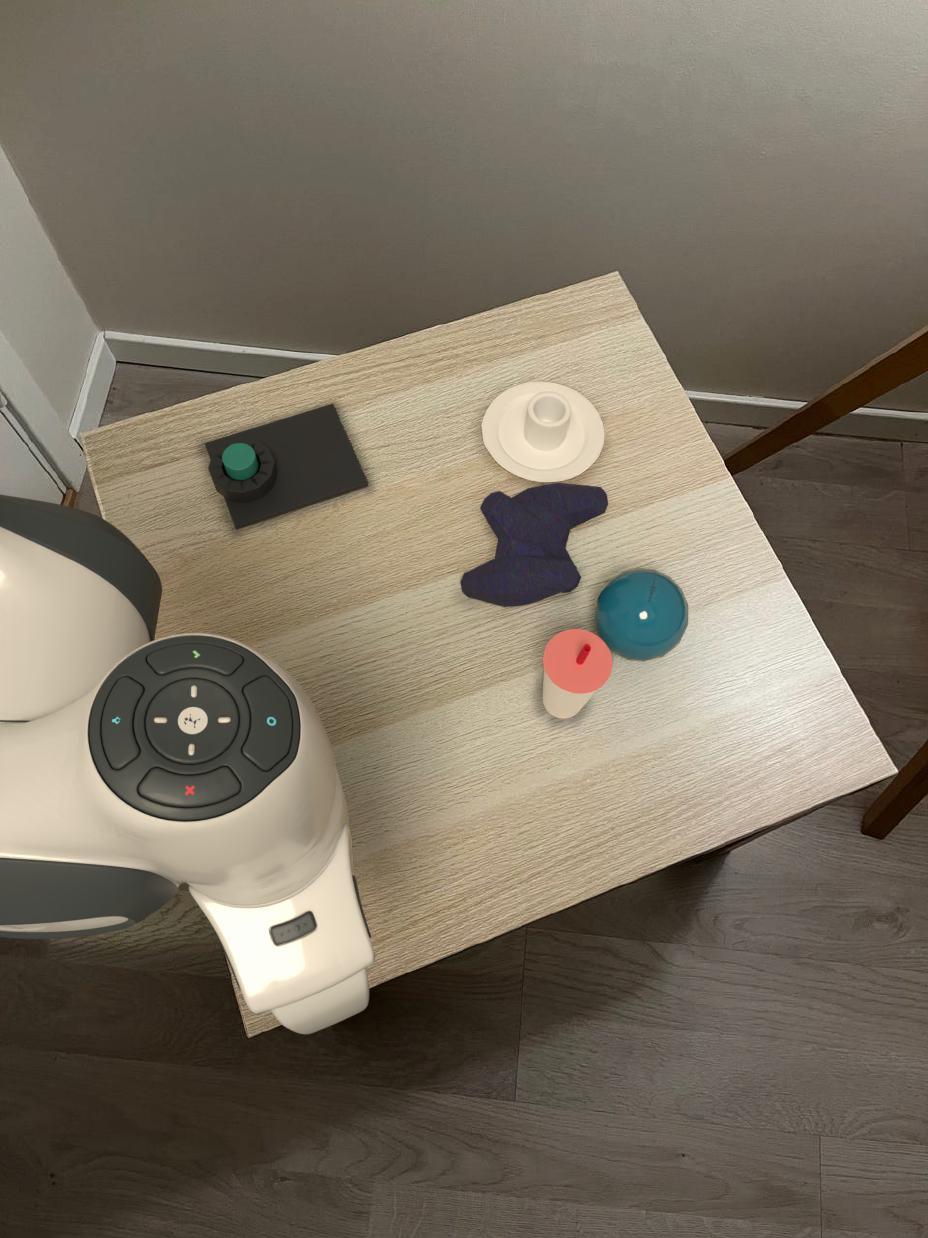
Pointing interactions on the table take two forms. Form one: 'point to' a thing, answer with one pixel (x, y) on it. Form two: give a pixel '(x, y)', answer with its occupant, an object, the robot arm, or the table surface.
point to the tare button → (240, 461)
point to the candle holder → (543, 431)
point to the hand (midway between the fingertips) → (291, 867)
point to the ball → (641, 614)
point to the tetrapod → (532, 543)
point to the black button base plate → (288, 466)
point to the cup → (573, 671)
